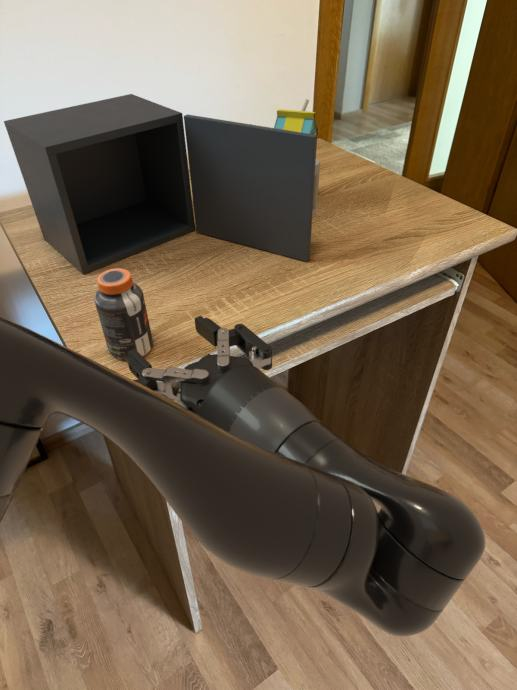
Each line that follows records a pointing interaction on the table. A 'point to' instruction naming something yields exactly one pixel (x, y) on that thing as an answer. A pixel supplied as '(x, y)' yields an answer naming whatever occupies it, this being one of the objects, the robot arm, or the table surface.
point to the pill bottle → (122, 314)
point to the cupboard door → (253, 184)
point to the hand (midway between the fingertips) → (165, 339)
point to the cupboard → (105, 177)
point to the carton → (297, 120)
